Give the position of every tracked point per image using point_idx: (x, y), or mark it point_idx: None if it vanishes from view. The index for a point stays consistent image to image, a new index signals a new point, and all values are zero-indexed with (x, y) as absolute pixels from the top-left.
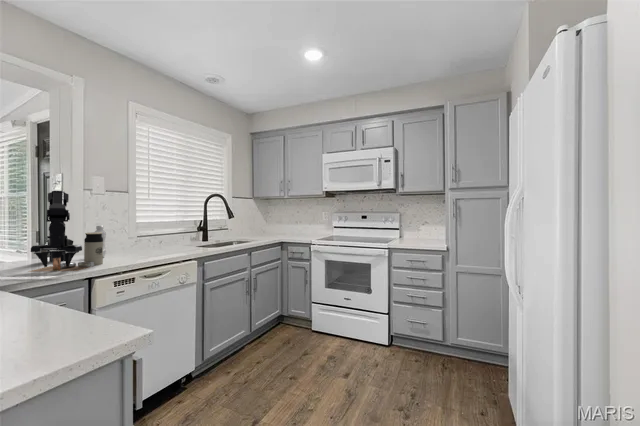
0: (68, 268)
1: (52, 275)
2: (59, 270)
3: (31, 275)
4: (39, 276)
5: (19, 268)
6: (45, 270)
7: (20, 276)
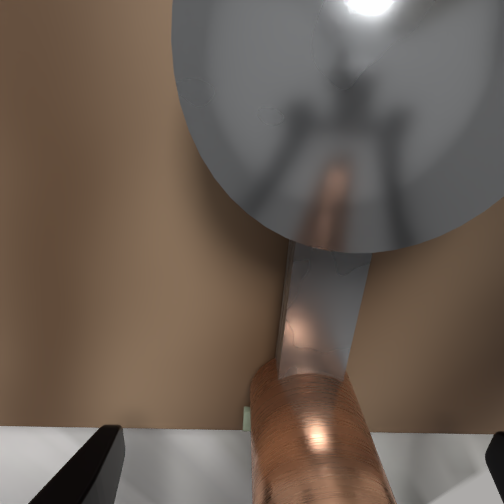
0: None
1: None
2: None
3: None
4: (223, 497)
5: None
6: (127, 372)
7: (19, 486)
